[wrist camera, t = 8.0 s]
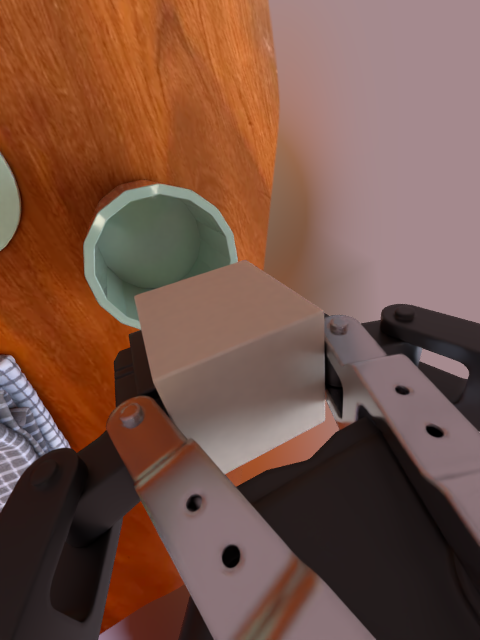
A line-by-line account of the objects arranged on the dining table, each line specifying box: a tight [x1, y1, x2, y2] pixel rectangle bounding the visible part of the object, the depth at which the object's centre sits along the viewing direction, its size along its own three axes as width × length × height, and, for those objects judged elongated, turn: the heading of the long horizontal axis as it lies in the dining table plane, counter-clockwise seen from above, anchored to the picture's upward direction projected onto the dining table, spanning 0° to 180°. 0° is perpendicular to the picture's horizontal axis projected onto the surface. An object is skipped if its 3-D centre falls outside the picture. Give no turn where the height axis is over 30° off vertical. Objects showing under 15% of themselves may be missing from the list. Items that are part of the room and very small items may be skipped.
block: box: [134, 260, 325, 474], centre depth 10 cm, size 4×4×5 cm
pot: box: [83, 179, 238, 330], centre depth 22 cm, size 10×10×8 cm
